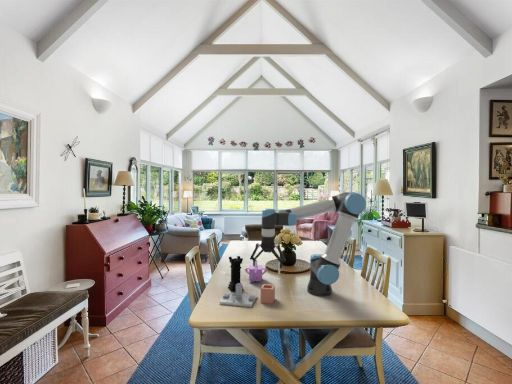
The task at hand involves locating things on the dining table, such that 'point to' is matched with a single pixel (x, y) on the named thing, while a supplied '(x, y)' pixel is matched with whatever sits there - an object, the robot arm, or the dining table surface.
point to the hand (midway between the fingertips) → (267, 272)
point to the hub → (267, 293)
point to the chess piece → (235, 273)
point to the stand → (238, 298)
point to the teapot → (253, 275)
